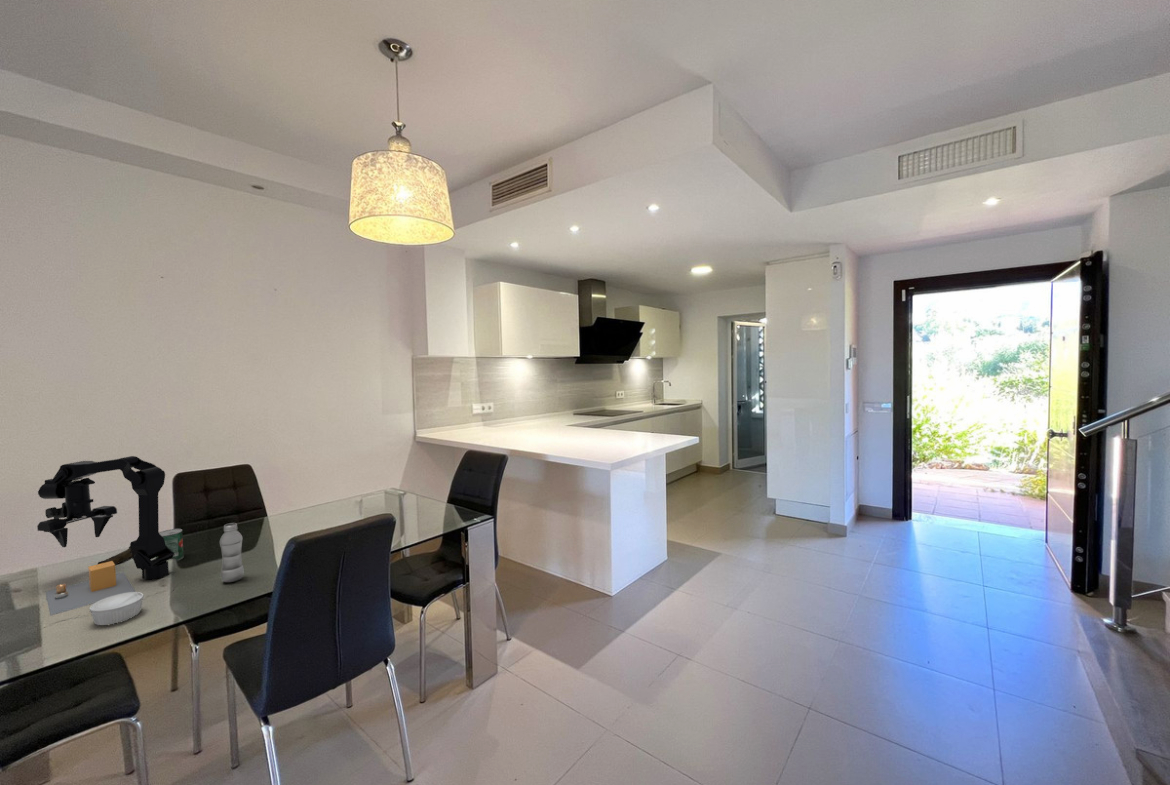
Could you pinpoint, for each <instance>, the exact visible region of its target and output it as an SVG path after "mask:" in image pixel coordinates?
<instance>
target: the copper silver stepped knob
mask: <svg viewBox="0 0 1170 785" xmlns="http://www.w3.org/2000/svg"><path fill="white" fill-rule="evenodd" d="M66 586H67V584H66V583H59V584H57V585H56V586H55V589H56V593H55V599H62V598H65V597H67V596H68V590H66Z"/></svg>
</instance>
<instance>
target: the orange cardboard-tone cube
mask: <svg viewBox="0 0 1170 785" xmlns="http://www.w3.org/2000/svg"><path fill="white" fill-rule="evenodd" d="M116 573H117V571H116V565H115V564H114V562H113V561H110V562H106V563H101V564H98V563H97V564H95V565H90V566H88V581H89V586H90V589H91V592H94V591H97V590H101V589H105V588H109V587H112V586H116Z"/></svg>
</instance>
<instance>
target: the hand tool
mask: <svg viewBox="0 0 1170 785" xmlns="http://www.w3.org/2000/svg"><path fill="white" fill-rule="evenodd" d="M130 551H131V547H130V546H128V549H125V550H124V551H121V552H119V553H117V554H115V555H113V556H111V557H109V558H107V559H104V560H101V561H98V562H97V564H101V563H106V562H110V561H113V562H114V564H115V566H117V565H118V564H121V563H122V562H124V561H126V560H129V559H131V558H132V554H130Z"/></svg>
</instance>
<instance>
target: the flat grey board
mask: <svg viewBox="0 0 1170 785" xmlns="http://www.w3.org/2000/svg"><path fill="white" fill-rule="evenodd" d="M66 590H68V596H67V597H65V598H62V599H55V593H56V588H54V589H50V590H46V591H45V592H44V593H45V597H46V601H47V606H48V612H49V615H50V616H55V615H58V614H61V613H65V612H69V611H72V610H75V609H80V608H83V607H87V606H89V605H90V606H91V605H93V604H94V603H96V602H98V601H100V600H102V599H105V598H107V597H111V596H114V595H118V594H122V593H128V592H137V591H136V590H135V588H134V586H133V585H132V582H130V580H129V578H128V577H127V576H126V574H125V572H124V571H121V572H116V586H112V587H109V588H105V589H101V590H97V591H94V592H91V589H90V586H89V580H85V581H82V582H78V583H73V584H70V585H69V584H68V585H66Z"/></svg>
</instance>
